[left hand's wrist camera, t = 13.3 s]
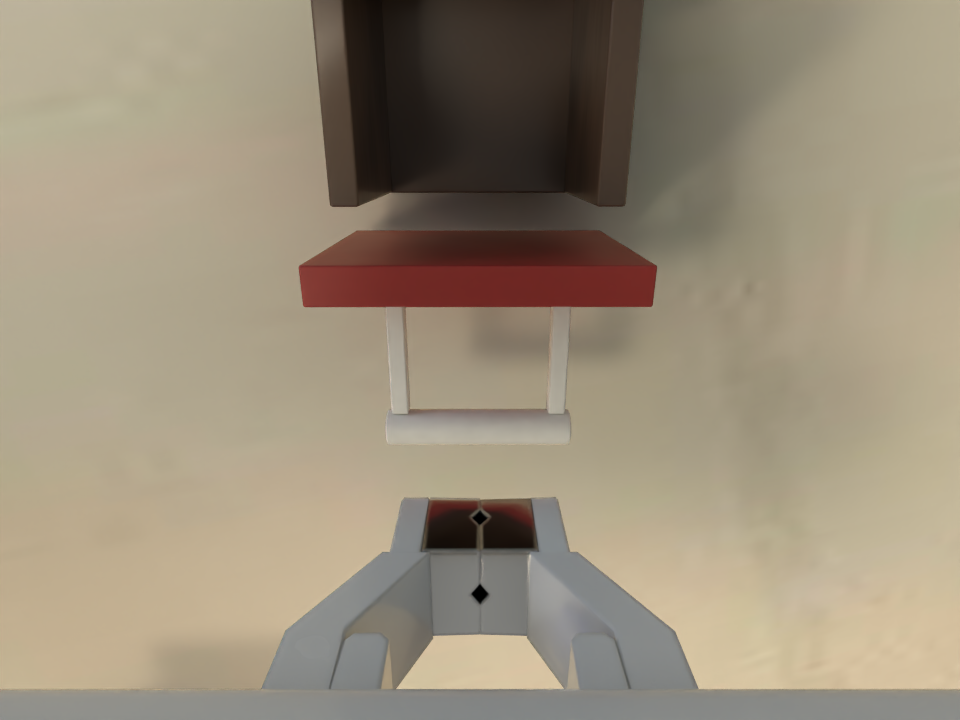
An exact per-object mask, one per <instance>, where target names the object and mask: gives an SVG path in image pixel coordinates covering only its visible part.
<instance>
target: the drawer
mask: <svg viewBox="0 0 960 720" xmlns="http://www.w3.org/2000/svg"><path fill="white" fill-rule="evenodd" d="M643 6H644V0H311V8H312V18H313V29H314V40H315V50H316V61H317V72H318V82H319V93H320V104H321V114H322V125H323V136H324V146H325V157H326V168H327V178H328V189H329V200H330V205H331V206H332V207H357V206H360V205H362V204H365V203H367V202H369V201H372V200H374V199H377V198H379V197H381V196H384V195H386V194H389V193H568V194H571V195H573V196H575V197H578V198H580V199H582V200H585V201H587V202H590V203H592V204H594V205H597V206H625V204H626V194H627V183H628V172H629V161H630V149H631V138H632V127H633V116H634V105H635V94H636V83H637V72H638V61H639V50H640V39H641V28H642V17H643ZM656 272H657V266H656V265H654V264H653V263H651V262H650V261H648V260H646V259H645V258H643V257H642V256H640V255H638V254H637V253H635V252H633V251H632V250H630V249H629V248H627V247H625V246H624V245H622V244H621V243H619V242H617V241H616V240H614V239H612V238H611V237H609V236H608V235H606V234H604V233H603V232H601V231H599V230H566V231H356V232H354V233H352V234H351V235H349V236H347V237H346V238H344V239H343V240H341V241H339V242H338V243H336V244H334V245H333V246H331V247H329V248H328V249H326V250H325V251H323V252H321V253H320V254H318V255H316V256H315V257H313V258H311V259H310V260H308V261H307V262H305V263H303V264H302V265H300V266H299V274H300V283H301V291H302V299H303V306H304V307H385V314H386V330H387V345H388V361H389V377H390V393H391V408H392V409H390V410H388V412H387V416H386V440H387V443H388V444H389V445H567V444H569V442H570V438H571V419H570V413H569V411H568V409H565V401H566V385H567V368H568V352H569V335H570V319H571V307H651V306H652V305H653V298H654V289H655V280H656ZM405 307H551V318H550V340H549V361H548V382H547V403H546V407H547V409H410V391H409V371H408V351H407V331H406V311H405Z"/></svg>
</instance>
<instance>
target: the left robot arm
mask: <svg viewBox="0 0 960 720" xmlns="http://www.w3.org/2000/svg"><path fill="white" fill-rule="evenodd" d="M474 634H485V635H520V636H527V639H528V640H529V641H530V643H531V644H532V645H533V647H534V648H535V649H536V651H537V652H538V654H539V655H540V656H541V658H542V659H543V660H544V662H545V663H546V664H547V666H548V667H549V669H550V670H551V671H552V673H553V674H554V675H555V677H556V678H557V680H558V681H559V682H560V684H561V685H562V686H563V688H564V689H396V688H397V687H398V685H399V684H400V683H401V681H402V680H403V679H404V677H405V676H406V674H407V673H408V672H409V670H410V669H411V668H412V666H413V665H414V664H415V662H416V661H417V660H418V658H419V657H420V655H421V654H422V653H423V651H424V650H425V649H426V647H427V646H428V645H429V643H430V642H431V640H432V639H433V636H440V635H474ZM0 720H960V689H698V686H697V684H696V681H695V679H694V676H693V674H692V672H691V669H690V667H689V664H688V662H687V659H686V657H685V655H684V652H683V650H682V647H681V645H680V642H679V640H678V637H677V635H676V633H675V631H674V630H673V629H671V628H670V627H669V626H668V625H667V624H665V623H664V622H663V621H662V620H660V619H659V618H658V617H657V616H655V615H654V614H653V613H652V612H651V611H649V610H648V609H647V608H646V607H644V606H643V605H642V604H641V603H640V602H638V601H637V600H636V599H635V598H633V597H632V596H631V595H630V594H628V593H627V592H626V591H625V590H624V589H622V588H621V587H620V586H619V585H617V584H616V583H615V582H614V581H613V580H611V579H610V578H609V577H608V576H606V575H605V574H604V573H603V572H601V571H600V570H599V569H598V568H597V567H595V566H594V565H593V564H592V563H590V562H589V561H588V560H587V559H585V558H584V557H583V556H582V555H581V554H579V553H578V552H570V549H569V545H568V541H567V537H566V532H565V528H564V524H563V519H562V515H561V511H560V507H559V502H558V499H557V498H556V497H545V498H530V499H473V498H430V499H429V498H428V497H422V498H404V499H403V500H402V502H401V506H400V510H399V515H398V519H397V523H396V528H395V532H394V536H393V541H392V545H391V549H390V552H382V553H381V554H379V555H378V556H377V557H376V558H375V559H373V560H372V561H371V562H370V563H368V564H367V565H366V566H365V567H363V568H362V569H361V570H360V571H358V572H357V573H356V574H355V575H354V576H352V577H351V578H350V579H349V580H347V581H346V582H345V583H344V584H342V585H341V586H340V587H339V588H337V589H336V590H335V591H334V592H333V593H331V594H330V595H329V596H328V597H326V598H325V599H324V600H323V601H321V602H320V603H319V604H318V605H317V606H315V607H314V608H313V609H312V610H310V611H309V612H308V613H307V614H305V615H304V616H303V617H302V618H300V619H299V620H298V621H297V622H296V623H294V624H293V625H292V626H291V627H289V628H288V629H287V630H286V631H285V633H284V636H283V638H282V640H281V643H280V645H279V648H278V650H277V652H276V655H275V657H274V660H273V662H272V664H271V667H270V669H269V672H268V674H267V676H266V679H265V681H264V684H263V686H262V688H261V689H0Z"/></svg>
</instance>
